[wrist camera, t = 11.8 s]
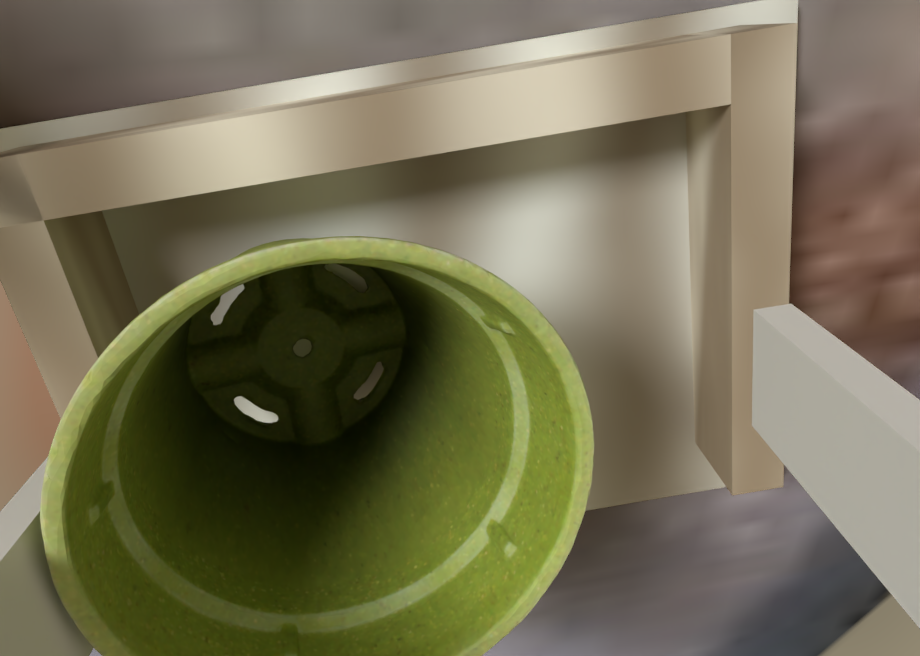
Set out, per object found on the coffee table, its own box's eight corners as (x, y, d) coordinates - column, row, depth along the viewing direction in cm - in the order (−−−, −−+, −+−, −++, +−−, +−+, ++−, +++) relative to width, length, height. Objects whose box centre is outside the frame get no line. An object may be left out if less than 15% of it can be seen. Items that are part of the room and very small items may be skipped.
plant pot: (351, 533, 22) (424, 770, 14) (46, 412, 18) (-79, 650, 10) (512, 286, 21) (682, 397, 14) (230, 103, 17) (243, 111, 10)
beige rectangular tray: (786, -5, 19) (866, -14, 15) (774, 467, 24) (830, 532, 21) (-34, 134, 19) (-128, 154, 15) (150, 573, 24) (111, 654, 21)
